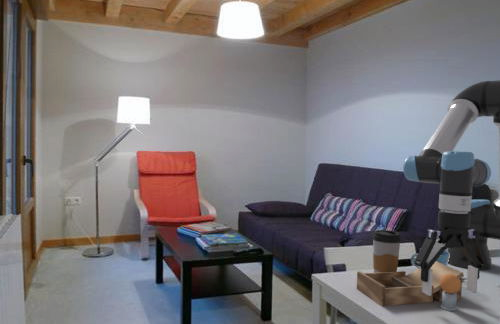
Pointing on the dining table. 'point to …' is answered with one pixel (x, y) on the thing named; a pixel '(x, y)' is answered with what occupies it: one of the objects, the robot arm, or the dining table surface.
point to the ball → (450, 283)
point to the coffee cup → (385, 251)
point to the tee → (449, 301)
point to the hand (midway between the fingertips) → (449, 292)
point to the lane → (404, 285)
